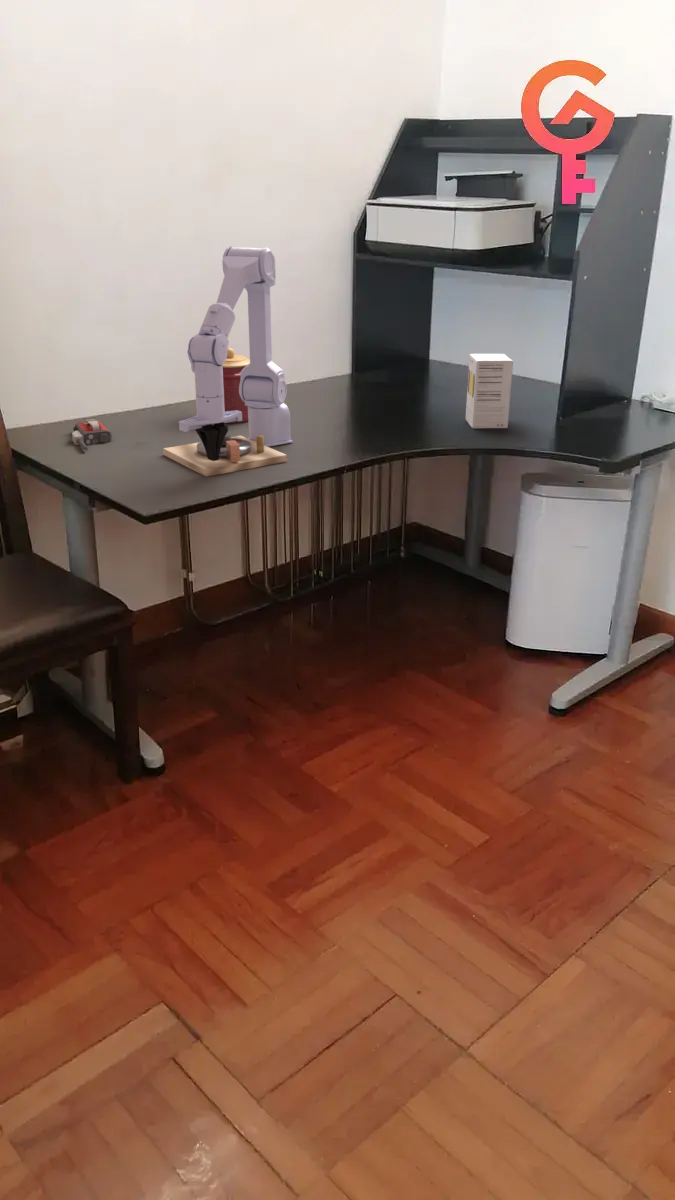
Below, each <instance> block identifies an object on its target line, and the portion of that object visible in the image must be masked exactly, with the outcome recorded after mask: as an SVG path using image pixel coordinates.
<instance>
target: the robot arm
mask: <svg viewBox="0 0 675 1200" xmlns="http://www.w3.org/2000/svg"><path fill="white" fill-rule="evenodd" d="M221 264H222V271H223V274H224V276H223V279H222V283H221V287H220V290H219V293H218V297H217V300H216V303H212V304H211V305H209V307H208V309H207V312H206V314H205V317H204V318H203V321H202V324H201V326H200V328H199V331H198V334H195V335H194V336H192V337H191V338H190V339H189V342H188V345H187V351H186V353H187V357H188V360H189V363H190V366H191V368H190V369H191V371H192V373H194V382H195V384H194V386H195V403H196V415H194V416H191V417H188V418H187V419H183V420H178V429H179V431H181V432H184V433H187V432H188V433H189V431H192V430H195V431H196V433H197V435H198V437H199V439H200V440H201V442H202V443H203V445H204V447H205V450H206V454H207V457H208V459H209V460H212V461H216V460H218V459H219V454H220V449H221V446H222V442H223V440H224V437H225V435H226V434H227V433H228V431H229V426H228V425H226V424H229V423H228V422H233V421H242V412H241V411H237V410H235V411H226V412H225V408H224V386H223V363H224V362H225V360H226V358H227V352H228V348H229V339H228V338H229V336H230V333H231V331H232V328H233V325H234V323H235V320H236V315H235V312H234V311H233V310H234V308H235V307H236V305H237V304H238V303H237V302H238V300H239V299H240V297H241V295H242V293H243V291H244V289H245V291H246V292H247V311H248V312H247V313H248V314H247V315H248V316H247V317H248V318H247V319H248V338H249V339H248V340H249V360H250V364H248V365H247V366H246V367H245V368H243V369H242V371H241V379H240V384H239V394H240V397H241V399H242V400H243V401H244V402H245V406H248V421H247V423H248V437H247V438H248V439H250V440H253V441H255V442H256V436H258V435H262V436H264V445H265V446H267V447H269V448H270V447H274V446H279V445H286V444H291V443H293V439H292V438H291V437H292V436H291V435H292V434H291V431H292V430H291V412H290V410H289V406H287V404H286V403H285V399H286V398H287V391H288V387H287V382H286V379H285V370H284V369H282V368H281V367H279V366H278V364H276V363H275V362H274V361H273V352H272V351H273V350H272V349H273V348H272V347H273V345H272V315H271V313H272V312H271V309H272V308H271V307H272V306H271V287H273V286H275V285H276V257H275V255H274V253H273V252H272V251H271V249H270V248H268V247H262V248H261V247H260V248H259V247H237V246H227V247H226V249H225V251H224V252H223V255H222V263H221ZM227 435H228V434H227Z"/></svg>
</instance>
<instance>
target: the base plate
mask: <svg viewBox="0 0 675 1200" xmlns="http://www.w3.org/2000/svg"><path fill="white" fill-rule="evenodd" d="M231 438H237V439H243V440H246V441H249V442H250V443H251V451H250V452H248V453H246V454H242V455H240V461H234V462H231V461H230V460H229V459H228V458H227V457H219V459H218V460H216V461H212V460H209V459H208V457H207V456H206V455H203V454H200V453H198V452H197V444H198V443H200V442H201V441H200V442H193V443H188V444H182V445H176V446H170V447H163V448H162V451H163V455H164V456H165V457H167V458H169V459H171V460H173V461H175V462H177V463H179V464H180V465H183V466H184V467H187V468H188V469H190V470H192V471H195V472H196V473H198V474H201V475H202V476H204V477H205V478H206V477H211V476H217V475H222V474H227V473H232V472H238V471H244V470H247V469H248V470H249V469H255V468H258V467H259V468H260V467H264V466H265V467H266V466H269V465H274V464H280V463H285V462H288V460H287V459H288V458H287V457H288V455H287V454H286V453H284V452H280V451H278V450H276V449H274V448H271V447H270V446H269V447H267V446H265V445H264V436H262V435H258V436H256V442H255V441H253V440H250V439H248V438H249V437H246V436H243V435H235V436H231V435H230V434H226V435H225V437H224V440H223V442H222V445H226V441H231Z"/></svg>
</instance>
